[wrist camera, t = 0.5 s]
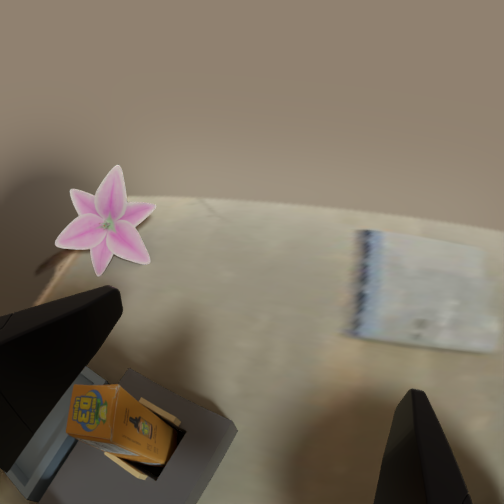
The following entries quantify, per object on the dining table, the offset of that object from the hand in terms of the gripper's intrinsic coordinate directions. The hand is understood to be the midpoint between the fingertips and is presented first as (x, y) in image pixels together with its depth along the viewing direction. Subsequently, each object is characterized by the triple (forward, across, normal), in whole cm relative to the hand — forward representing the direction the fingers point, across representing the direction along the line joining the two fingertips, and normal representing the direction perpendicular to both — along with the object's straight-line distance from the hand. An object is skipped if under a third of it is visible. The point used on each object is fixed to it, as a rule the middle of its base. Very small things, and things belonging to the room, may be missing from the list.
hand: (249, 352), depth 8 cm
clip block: (-4, +7, +19) cm, 21 cm away
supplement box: (+2, +6, +17) cm, 19 cm away
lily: (+19, +24, +14) cm, 33 cm away
